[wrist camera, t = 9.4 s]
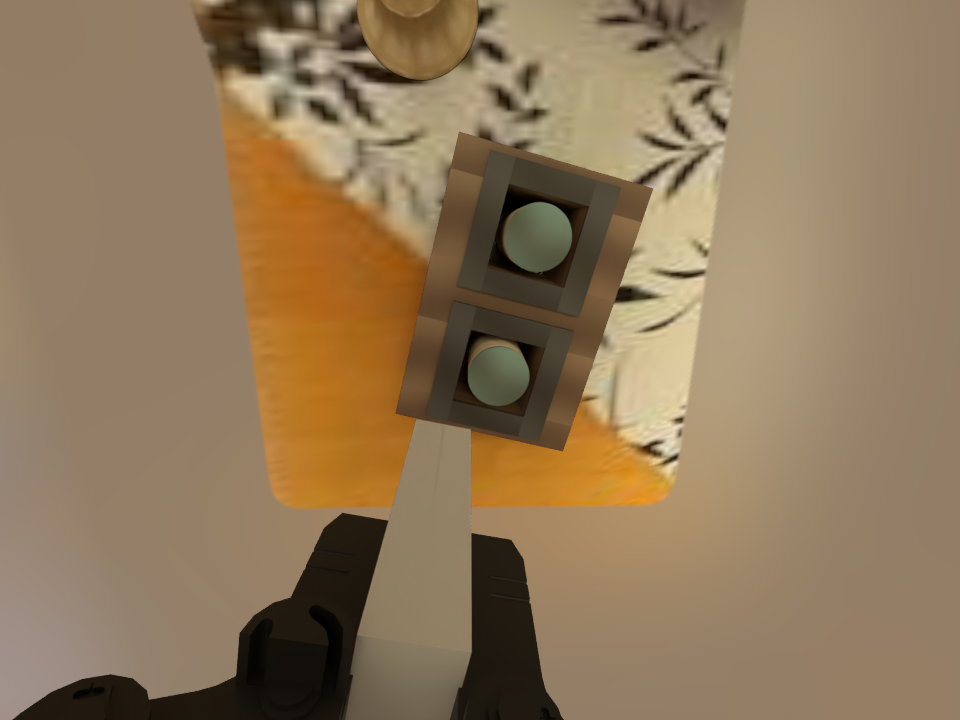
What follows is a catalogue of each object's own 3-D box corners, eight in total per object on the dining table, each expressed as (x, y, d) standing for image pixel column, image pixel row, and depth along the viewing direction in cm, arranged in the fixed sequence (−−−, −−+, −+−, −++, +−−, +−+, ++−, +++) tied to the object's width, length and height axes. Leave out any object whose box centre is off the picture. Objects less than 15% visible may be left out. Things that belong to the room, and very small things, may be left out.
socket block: (460, 154, 33) (458, 130, 25) (611, 197, 34) (655, 187, 26) (409, 376, 38) (394, 415, 30) (543, 407, 39) (563, 454, 31)
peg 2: (504, 202, 34) (515, 194, 26) (554, 216, 34) (580, 212, 26) (490, 255, 35) (497, 262, 27) (539, 268, 35) (560, 279, 27)
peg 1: (474, 316, 36) (476, 340, 28) (521, 328, 36) (536, 355, 28) (462, 362, 37) (461, 398, 29) (508, 373, 37) (519, 411, 30)
